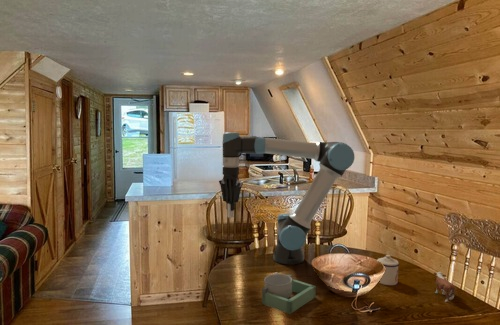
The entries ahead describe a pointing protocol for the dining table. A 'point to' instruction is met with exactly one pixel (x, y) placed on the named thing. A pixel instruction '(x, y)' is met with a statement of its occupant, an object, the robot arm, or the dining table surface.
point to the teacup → (279, 284)
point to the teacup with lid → (389, 270)
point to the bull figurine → (444, 286)
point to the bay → (292, 304)
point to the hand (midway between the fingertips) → (230, 217)
